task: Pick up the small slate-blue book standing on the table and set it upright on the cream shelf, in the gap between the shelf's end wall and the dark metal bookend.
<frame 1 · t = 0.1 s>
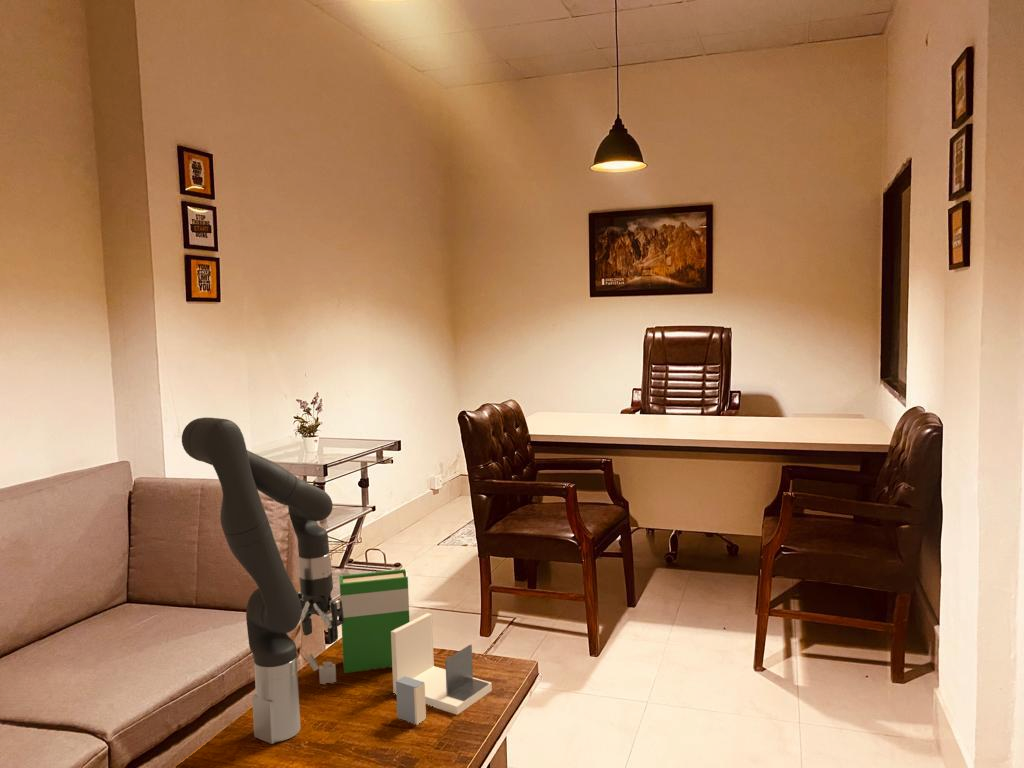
hand: (320, 637, 189), 17 cm above the table, tool pointing down, fingers open, 8 cm apart
small book: (411, 719, 184), on the table
lighter: (322, 683, 204), on the table
bookend: (460, 695, 195), resting on shelf
shelf: (442, 692, 197), on the table
hardback book: (377, 663, 215), on the table
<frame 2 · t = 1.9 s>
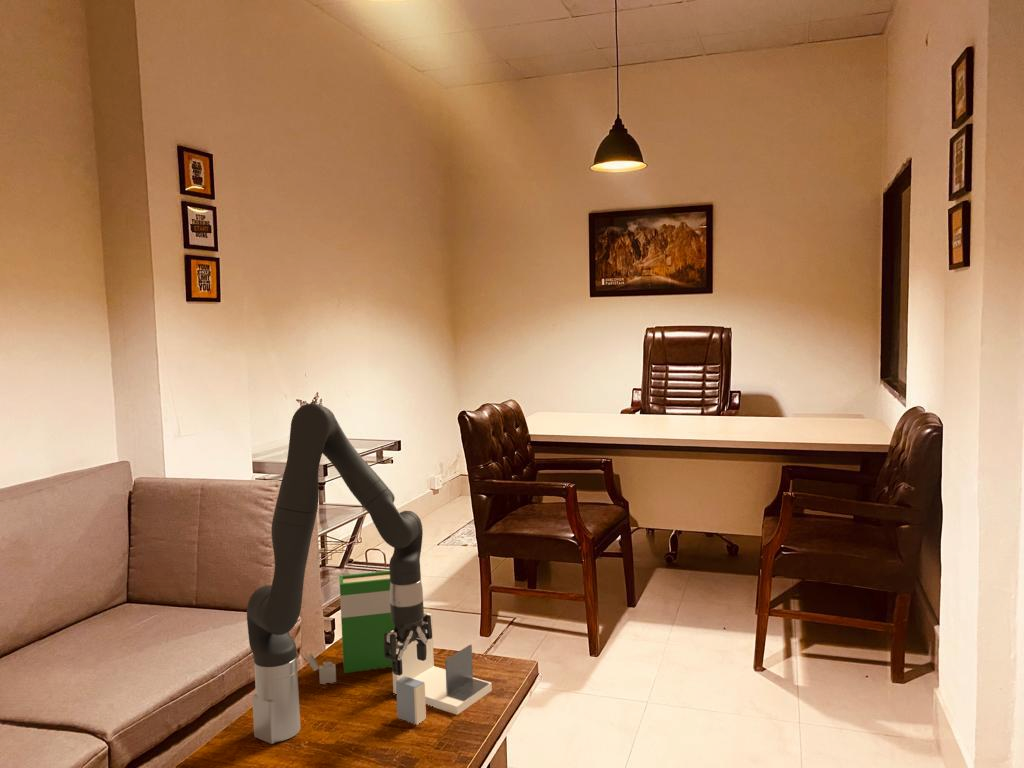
hand: (410, 666, 184), 12 cm above the table, tool pointing down, fingers open, 8 cm apart
nothing on the table moved.
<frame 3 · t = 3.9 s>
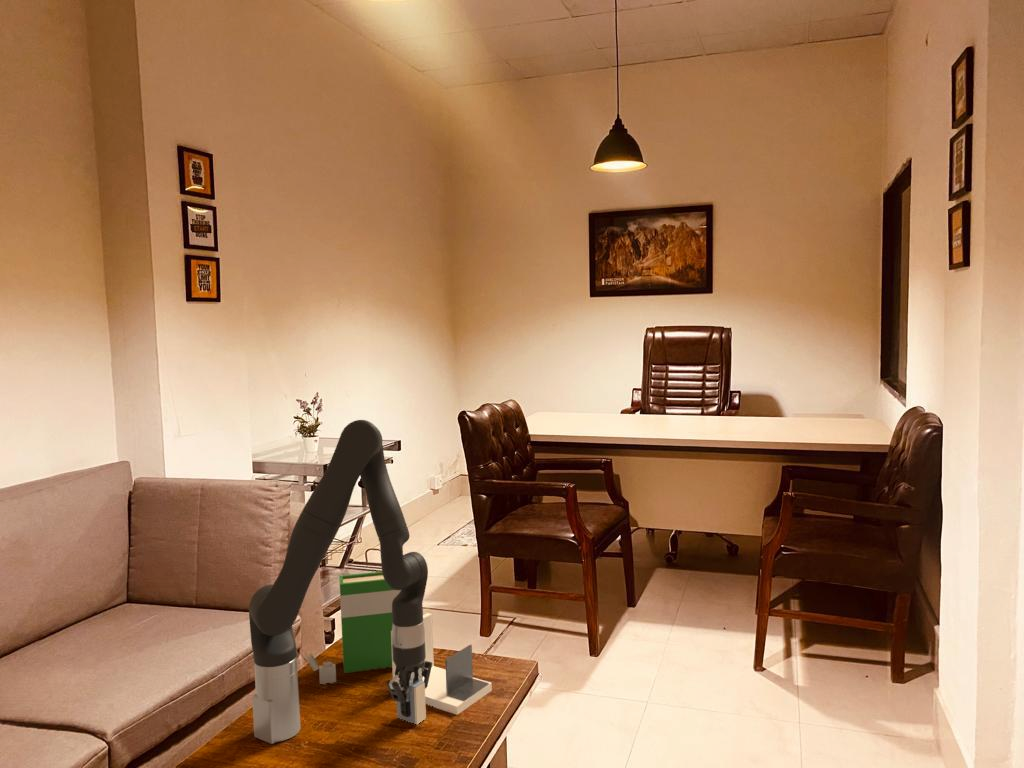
hand: (411, 712, 184), 2 cm above the table, tool pointing down, fingers closed on small book, 3 cm apart
small book: (411, 718, 184), on the table, touching gripper
everything else where it was.
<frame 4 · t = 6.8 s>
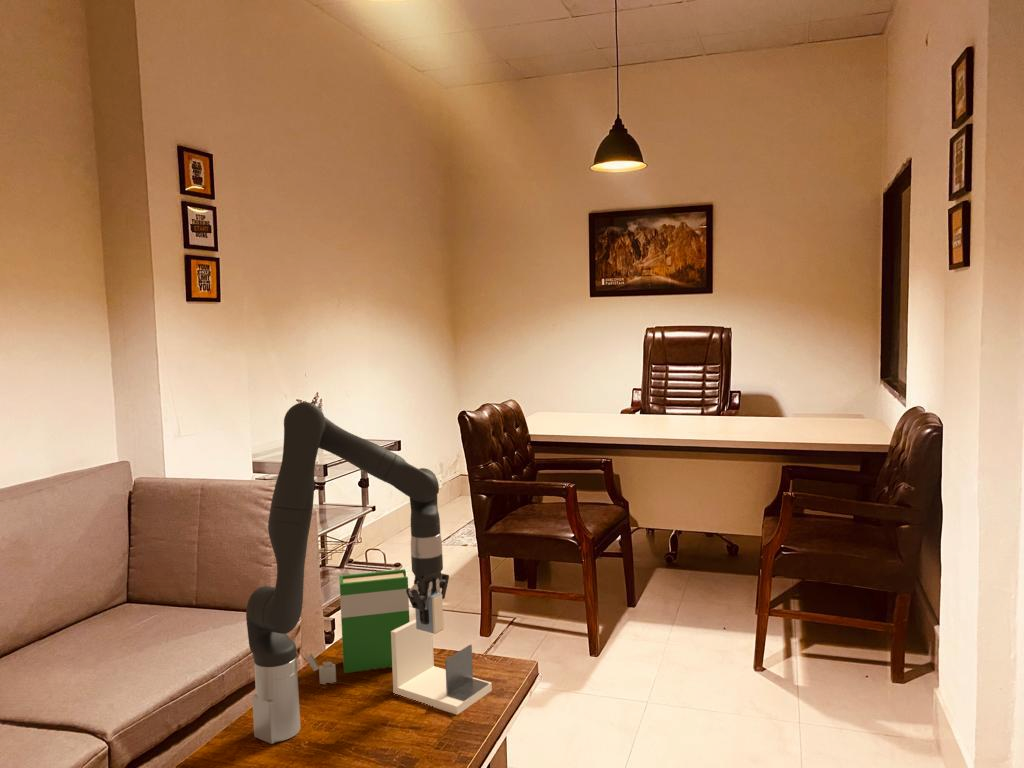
hand: (429, 620, 193), 19 cm above the table, tool pointing down, fingers closed on small book, 3 cm apart
small book: (429, 629, 193), point 17 cm above the table, touching gripper
everything else where it was.
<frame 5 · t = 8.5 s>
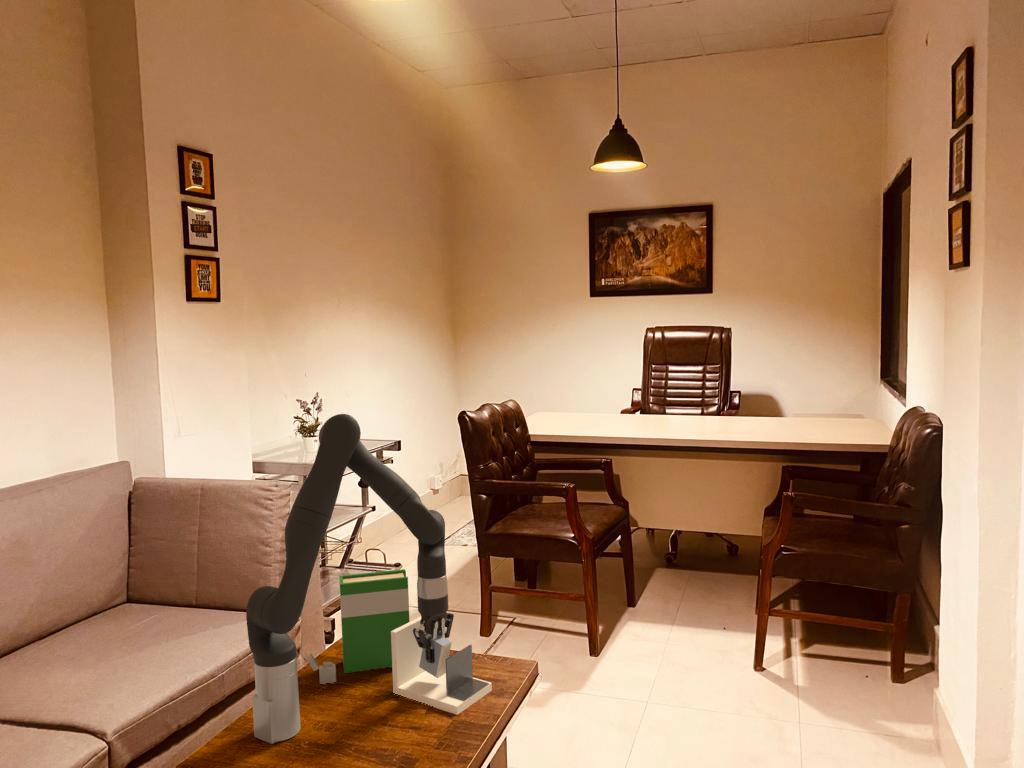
hand: (435, 659, 197), 8 cm above the table, tool pointing down, fingers closed on small book, 3 cm apart
small book: (432, 670, 198), point 5 cm above the table, tilted 16°, touching gripper
everything else where it was.
when the fingers open (5 cm above the table, at t = 9.8 s): small book drops 1 cm, resting on shelf.
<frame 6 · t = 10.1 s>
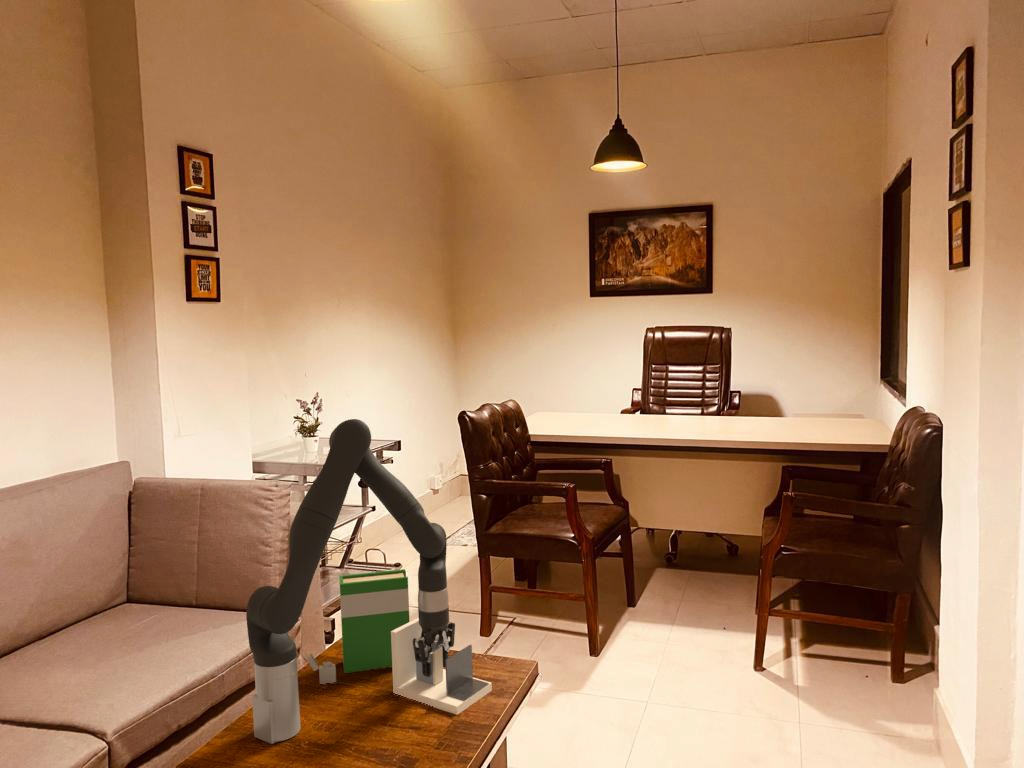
hand: (435, 670, 197), 5 cm above the table, tool pointing down, fingers open, 6 cm apart
small book: (429, 679, 199), point 2 cm above the table, touching shelf
everything else where it was.
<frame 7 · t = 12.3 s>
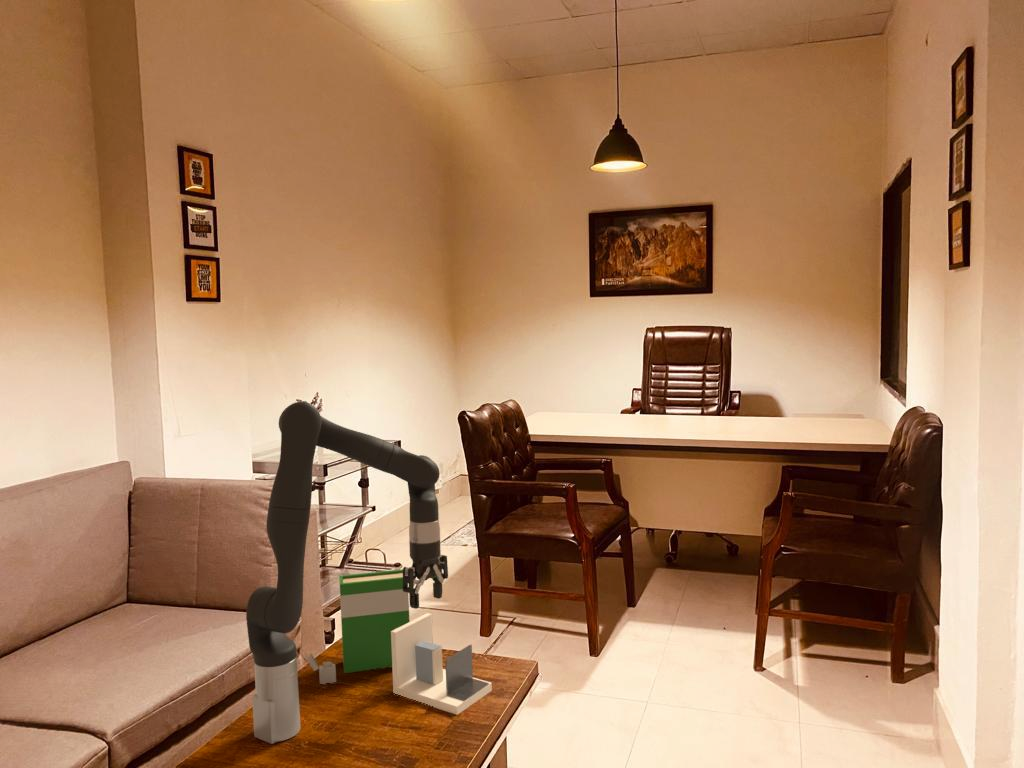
hand: (426, 602, 195), 23 cm above the table, tool pointing down, fingers open, 8 cm apart
nothing on the table moved.
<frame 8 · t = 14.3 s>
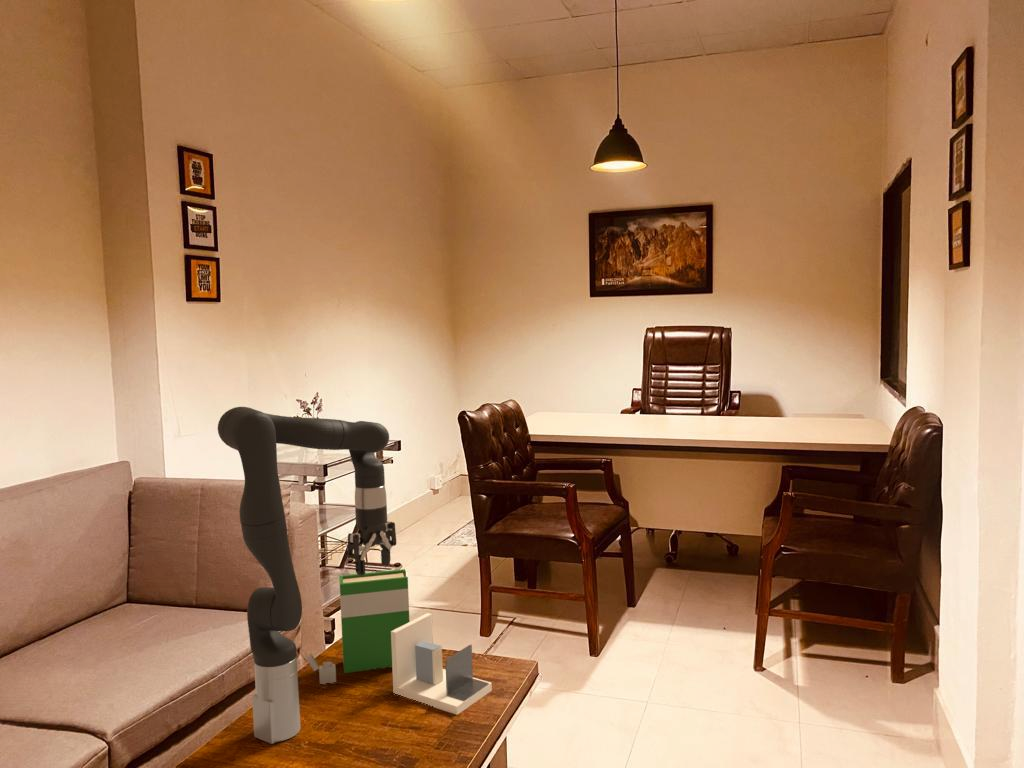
hand: (373, 569, 192), 32 cm above the table, tool pointing down, fingers open, 8 cm apart
nothing on the table moved.
at the end: small book 2.3 cm from the target spot, point 2.0 cm above the table; small book tilted 0°; the gripper is holding nothing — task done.
